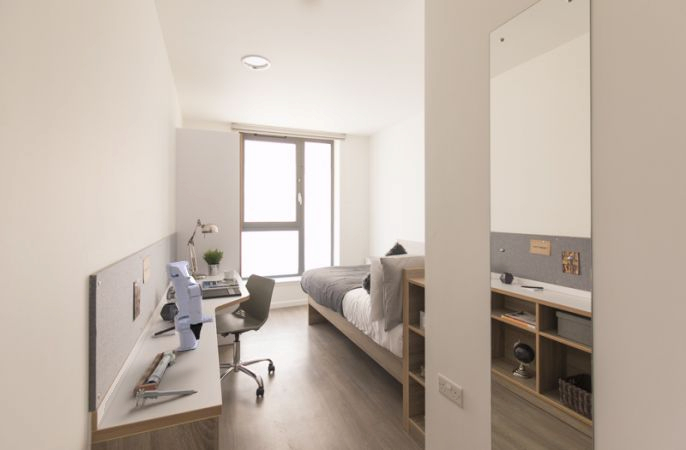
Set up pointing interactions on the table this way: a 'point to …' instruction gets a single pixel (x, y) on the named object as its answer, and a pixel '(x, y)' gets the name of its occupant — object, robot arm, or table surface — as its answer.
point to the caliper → (160, 394)
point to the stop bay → (148, 373)
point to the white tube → (162, 367)
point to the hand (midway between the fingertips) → (197, 339)
